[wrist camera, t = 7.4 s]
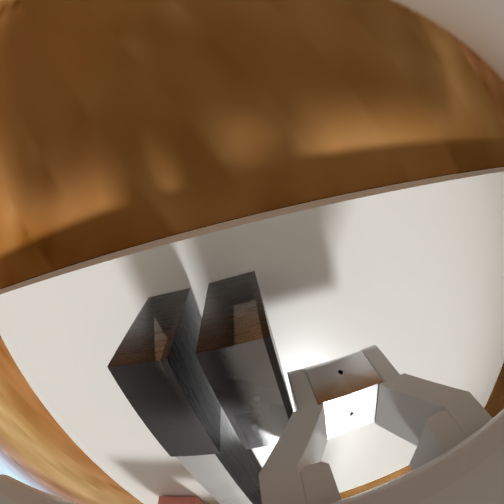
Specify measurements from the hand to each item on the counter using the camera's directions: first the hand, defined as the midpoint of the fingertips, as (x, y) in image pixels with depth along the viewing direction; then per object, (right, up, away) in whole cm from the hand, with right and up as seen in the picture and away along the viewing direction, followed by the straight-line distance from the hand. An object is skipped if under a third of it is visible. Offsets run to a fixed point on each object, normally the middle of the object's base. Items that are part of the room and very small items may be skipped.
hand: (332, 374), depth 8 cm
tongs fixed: (-2, -6, +4) cm, 7 cm away
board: (+1, -5, +5) cm, 7 cm away
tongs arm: (-1, -3, +3) cm, 5 cm away
